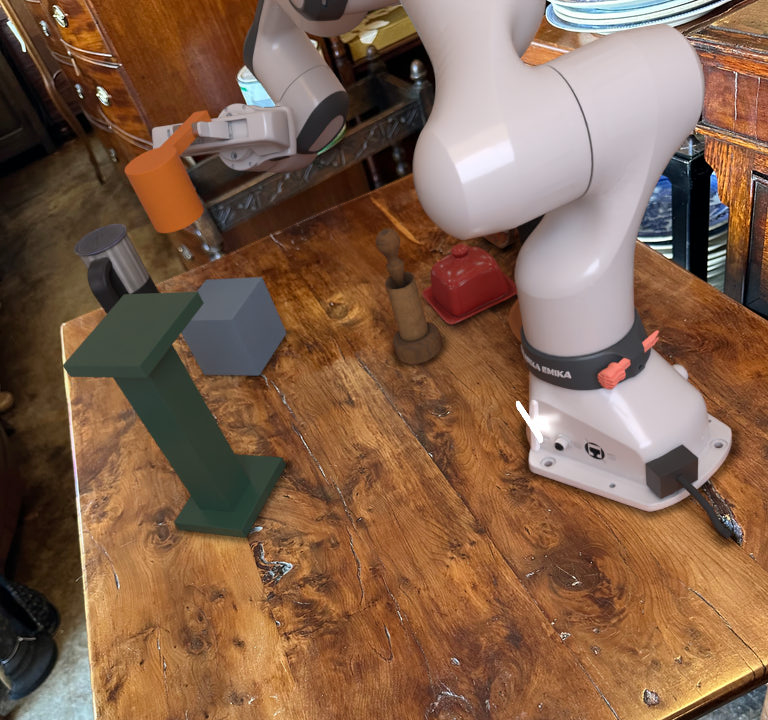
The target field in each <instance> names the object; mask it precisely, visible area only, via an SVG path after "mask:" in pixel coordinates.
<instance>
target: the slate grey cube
mask: <svg viewBox="0 0 768 720" xmlns="http://www.w3.org/2000/svg"><path fill="white" fill-rule="evenodd" d="M196 292H198V293H199V295H200V297H201V299H202V301H203V303H204V304H203V305H202V306H201V308H200V309H199V310H198V312H197V313H196V314H195V315H194V317H193V318H192V319H191V321H190V322H189V323H188V325H187V326H186V327H185V329H184V330H183V331H182V333H181V334H180V335H181V336H182V338H183V340H184V342H185V343H186V345H187V347H188V349H189V351H190V352H191V353H192V355H193V358H194V359H195V361H196V363H197V365H198V366H199V368H200V370H201V372H202V374H203V376H250V377H251V376H252V377H253V376H255V377H258V376H259V377H260V376H261V374H262V372H263V371H264V369H265V368H266V366H267V364H268V363H269V362H270V360H271V358H272V357H273V355H274V354H275V352H276V350H277V349H278V347H280V344H281V342H282V341H283V340H284V338H285V336H286V335H287V331H286V329H285V326H284V323H283V322H282V319H281V316H280V315H279V312H278V310H277V308H276V305H275V303H274V301H273V299H272V297H271V295H270V291H269V288H267V285H266V282H265V280H264V278H263V277H262V276H256V277H255V276H254V277H253V276H252V277H234V278H215V279H213V278H212V279H205V280H204V281H203V283H202V284H201V286H200V287H199V288H198V290H197V291H196Z"/></svg>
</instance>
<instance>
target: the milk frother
mask: <svg viewBox="0 0 768 720" xmlns="http://www.w3.org/2000/svg"><path fill="white" fill-rule="evenodd" d="M73 252H74V254H76V255H77V256H79V258H80V259H81V262H82V263H83V264H84V266H85V268H86V270H87V273H86V275H87V283H88V286H89V288H90V290H91V293H92V294H93V296H94V297H95V300H96V301H97V302H98V303H99V304H100V306H101V308H102V309H103V310H104V313H105V314H106V315H107V314H108V312H109V311H110V310H111V309H112V308H113V307H114V305H115V304H116V303H117V302H118V301H119V300H120V299H121V297H122V296H123V295H124V294H148V293H161V292H160V290H159V289H158V287H157V285H156V284H155V282H154V279H152V276H151V275H150V273H149V271H148V269H147V267H146V266H145V263H144V262H143V260H142V259H141V256H140V254H139V253H138V251H137V249H136V247H135V245H134V243H133V242H132V240H131V238H130V237H129V235H128V233H127V227H126V226H125V225H124V224H122V223H113V224H108V225H105V226H101V227H99V228H96V229H95V230H93V231H90V232H89V233H87V234H86V235H84V236H83V237H82V238H80V240H78V241H77V243H76V244H75V245H74V248H73Z"/></svg>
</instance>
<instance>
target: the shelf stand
mask: <svg viewBox="0 0 768 720" xmlns="http://www.w3.org/2000/svg"><path fill="white" fill-rule="evenodd" d="M203 304H204V303H203V301H202V299H201V297H200V295H199V293H198V292H197V291H178V292H176V291H175V292H160V293H148V294H124V295H123V296H122V297H121V299H120V300H119V301H118V302H117V303H116V304H115V305H114V307H113V308H112V309H111V310H110V311H109V312H108V314H106V315H104V317H103V318H102V319H101V320H100V321H99V323H98V324H96V326H95V327H94V328H93V330H92V331H91V332H90V333H89V334H88V335H87V336H86V338H85V339H84V340H83V341H82V342H81V343H80V344H79V345H78V347H77V348H76V349H75V350H74V351H73V353H71V355H70V356H69V357H68V358H67V360H66V361H65V362H64V363H63V364H62V368H63V369H64V370H65V372H66V373H67V375H68V376H69V377H70V378H111V379H113V380H114V381H115V383H116V385H117V386H118V388H119V389H120V391H121V392H122V393H123V395H124V397H125V399H126V400H127V401H128V403H129V405H130V406H131V407H132V409H133V411H134V412H135V414H136V415H137V416H138V418H139V420H140V421H141V422H142V424H143V426H144V427H145V428H146V430H147V432H148V434H150V436H151V438H152V439H153V441H154V442H155V444H156V446H157V447H158V448H159V450H160V451H161V453H162V454H163V456H164V457H165V459H166V460H167V463H169V465H170V467H171V468H172V469H173V471H174V472H175V474H176V475H177V477H178V478H179V480H180V482H181V483H182V484H183V486H184V488H185V489H186V491H187V493H188V494H189V497H188V499H187V501H186V502H185V504H183V505H184V506H183V507H182V509H181V510H180V512H179V513H178V515H177V516H176V518H175V519H174V522H173V523H174V526H176V528H177V530H179V531H184V532H193V533H202V534H210V535H220V536H228V537H235V538H236V537H237V538H243V539H244V538H245V539H246V538H247V537H248V535H249V534H250V531H251V530H252V528H253V526H254V525H255V522H256V521H257V519H258V517H259V515H260V513H261V512H262V510H263V508H264V506H265V505H266V503H267V501H268V499H269V498H270V496H271V494H272V492H273V490H274V488H275V486H276V485H277V483H278V481H279V479H280V477H281V476H282V474H283V472H284V470H285V469H286V467H287V463H286V461H285V459H284V458H283V457H282V456H269V455H256V454H255V455H254V454H238V453H235V451H234V450H233V448H232V447H231V444H230V443H229V441H228V440H227V438H226V436H225V434H224V433H223V431H222V429H221V428H220V426H219V424H218V422H217V420H216V419H215V417H214V415H213V413H212V411H211V410H210V408H209V406H208V404H207V403H206V401H205V399H204V397H203V396H202V394H201V391H200V390H199V388H198V387H197V385H196V383H195V382H194V380H193V378H192V376H191V375H190V373H189V371H188V369H187V368H186V366H185V363H184V362H183V361H182V358H181V357H180V355H179V354H178V351H177V350H176V348H175V346H174V343H175V342H176V341H177V340H178V338H179V337H180V335H182V334H181V333H182V331H183V330H184V329H185V327H186V326H187V325H188V323H189V322H190V321H191V319H192V318H193V317H194V315H195V314H196V313H197V312H198V310H199V309H200V308H201V306H202V305H203Z"/></svg>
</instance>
